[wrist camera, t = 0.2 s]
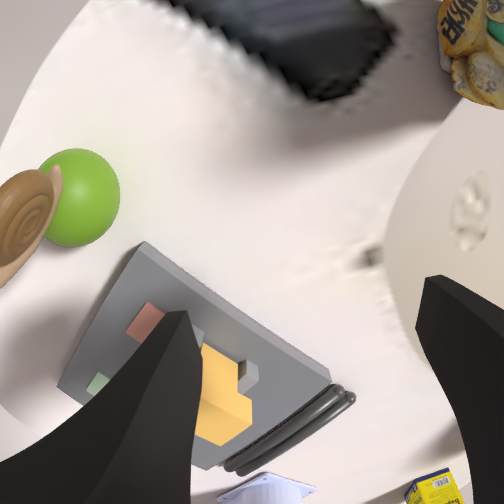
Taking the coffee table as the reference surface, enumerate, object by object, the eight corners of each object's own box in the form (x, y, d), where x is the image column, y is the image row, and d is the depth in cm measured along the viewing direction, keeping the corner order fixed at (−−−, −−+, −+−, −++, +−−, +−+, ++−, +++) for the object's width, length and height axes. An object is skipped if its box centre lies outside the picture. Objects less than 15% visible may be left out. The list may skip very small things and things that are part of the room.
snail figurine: (44, 214, 18) (-86, 285, 7) (83, 131, 17) (-70, 142, 5) (102, 258, 19) (-8, 371, 8) (149, 176, 18) (21, 234, 6)
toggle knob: (224, 395, 21) (220, 446, 17) (164, 360, 20) (148, 409, 16) (251, 372, 20) (252, 424, 16) (188, 332, 19) (175, 382, 15)
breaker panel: (240, 472, 28) (240, 494, 25) (63, 376, 23) (49, 397, 20) (360, 389, 24) (370, 414, 21) (145, 240, 19) (128, 257, 16)
